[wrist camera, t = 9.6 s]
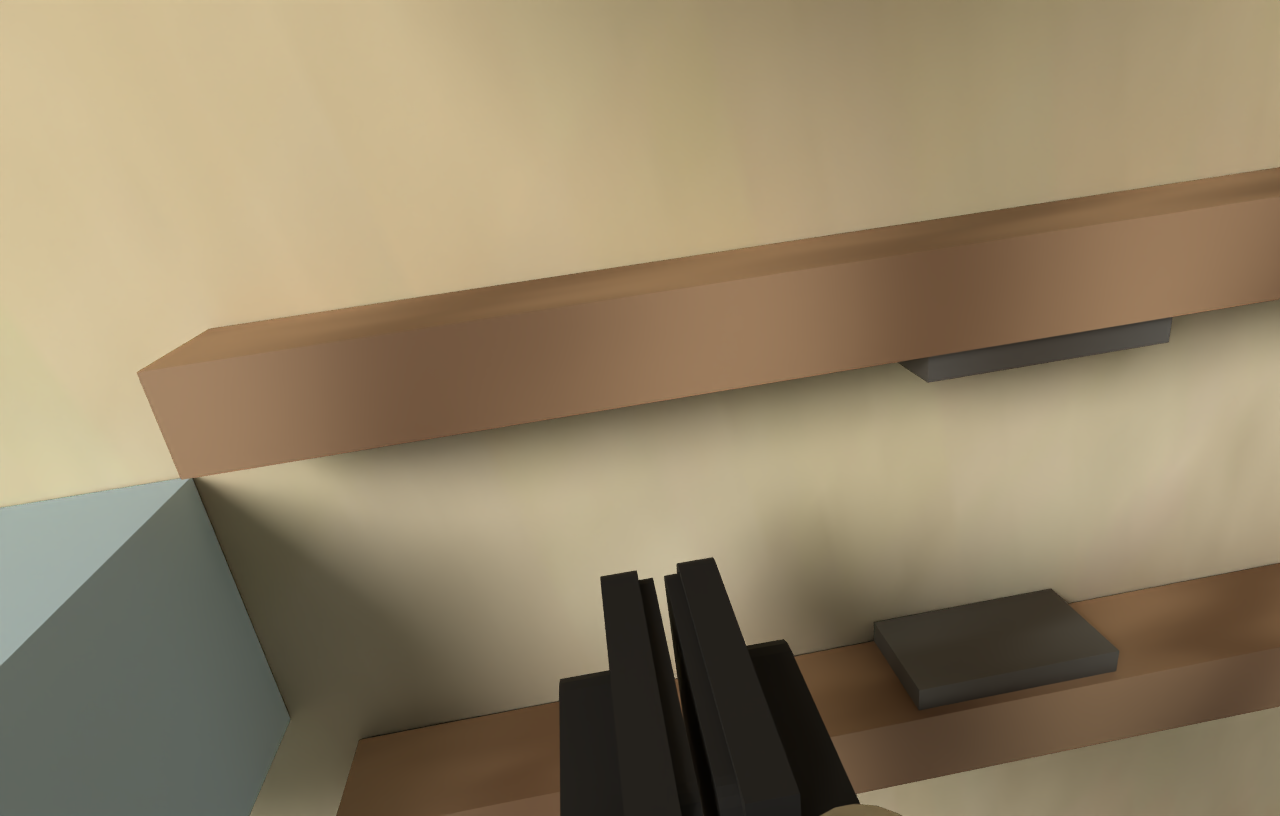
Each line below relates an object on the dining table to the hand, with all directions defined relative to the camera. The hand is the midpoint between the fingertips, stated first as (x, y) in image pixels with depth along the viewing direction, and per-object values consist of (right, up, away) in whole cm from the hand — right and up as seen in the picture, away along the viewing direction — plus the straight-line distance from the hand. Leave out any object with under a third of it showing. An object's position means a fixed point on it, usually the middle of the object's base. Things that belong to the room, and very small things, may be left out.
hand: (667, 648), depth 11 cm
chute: (+5, +2, +4) cm, 6 cm away
